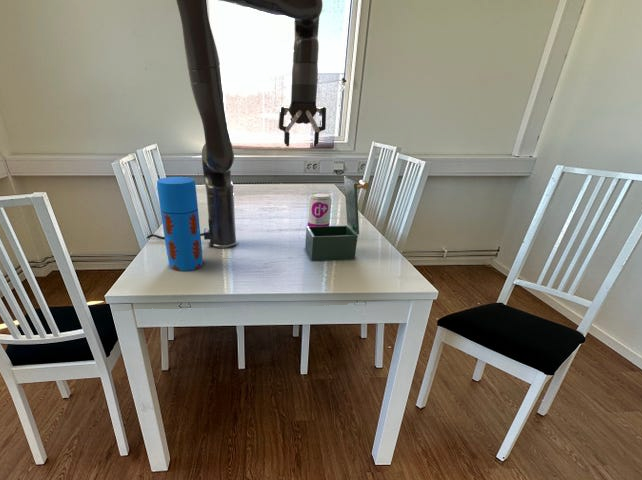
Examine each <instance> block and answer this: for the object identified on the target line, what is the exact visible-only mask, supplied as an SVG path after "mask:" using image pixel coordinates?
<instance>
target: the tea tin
mask: <svg viewBox="0 0 642 480" xmlns="http://www.w3.org/2000/svg"><path fill="white" fill-rule="evenodd" d="M305 228H306V230H305V247H304V249H305V251H306V253H307V255H308V256H309V258H310V261H313V262H314V261H315V262H317V261H339V260H340V261H342V260H345V261H346V260H355V259H356V253H357V245H358V238H359V236H358V234H356V233H355V232H354V231H353V230H352V229H351V228H350V227H349V226H348V225H329V226H309V227H307V226H306V227H305Z"/></svg>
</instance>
